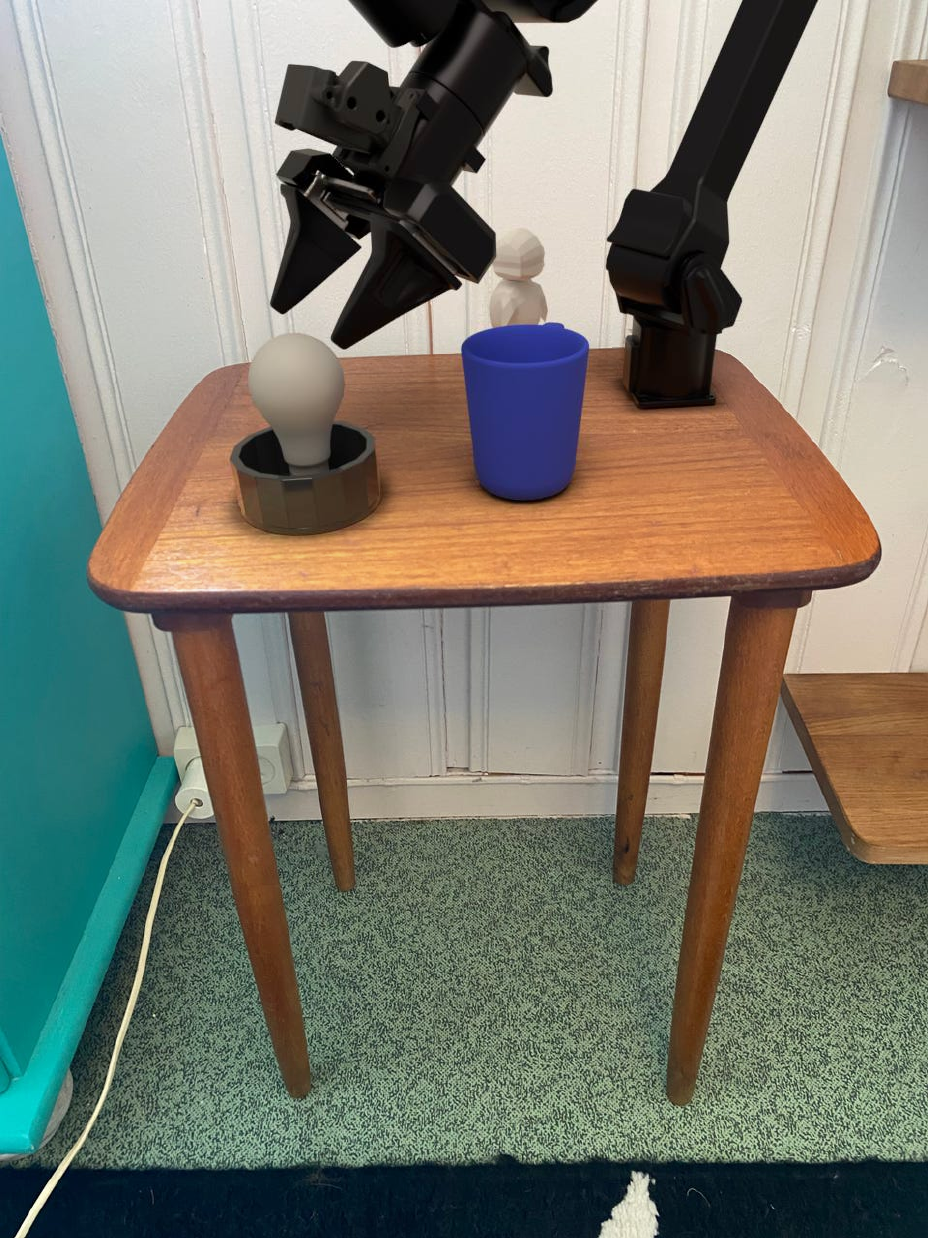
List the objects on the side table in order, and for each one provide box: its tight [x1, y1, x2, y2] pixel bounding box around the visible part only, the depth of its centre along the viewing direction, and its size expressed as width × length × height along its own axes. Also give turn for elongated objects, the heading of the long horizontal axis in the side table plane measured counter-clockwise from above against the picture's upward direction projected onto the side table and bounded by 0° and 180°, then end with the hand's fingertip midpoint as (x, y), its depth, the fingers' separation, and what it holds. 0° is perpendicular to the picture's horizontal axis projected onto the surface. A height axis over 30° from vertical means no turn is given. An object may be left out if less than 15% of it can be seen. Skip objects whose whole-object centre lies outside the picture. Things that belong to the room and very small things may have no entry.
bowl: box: [229, 420, 381, 536], centre depth 62 cm, size 10×10×4 cm
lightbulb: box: [247, 332, 346, 476], centre depth 60 cm, size 6×6×11 cm
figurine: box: [488, 227, 549, 328], centre depth 81 cm, size 8×5×12 cm, turn 146°
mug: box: [460, 321, 590, 501], centre depth 63 cm, size 8×12×10 cm
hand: (304, 326), depth 57 cm, fingers open, 9 cm apart
